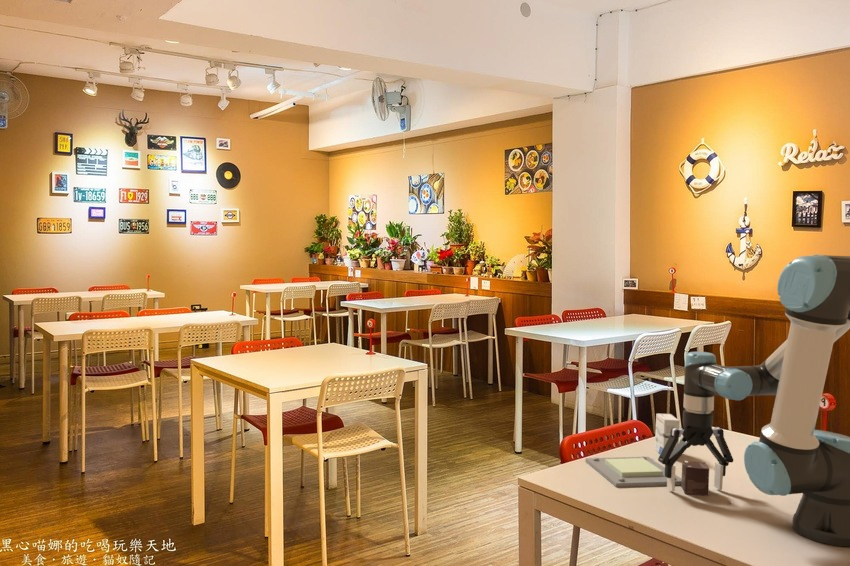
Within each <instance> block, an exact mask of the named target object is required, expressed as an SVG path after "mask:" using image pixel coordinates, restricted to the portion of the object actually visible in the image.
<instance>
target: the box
mask: <svg viewBox="0 0 850 566" xmlns="http://www.w3.org/2000/svg"><path fill="white" fill-rule="evenodd" d="M681 463H682V464H681V479H682V484H681V485H680V486H681V488H682V490H683V492H684V494H686V495H697V496H709V485H710V483H709V482H710V481H709V479H710V468H709V466H708V465H707V463H706V462H705V461H691V460H682V462H681Z"/></svg>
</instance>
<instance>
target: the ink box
mask: <svg viewBox="0 0 850 566" xmlns="http://www.w3.org/2000/svg"><path fill="white" fill-rule="evenodd" d="M655 415H656V416H655V418H656V419H655V436H654V450H655V451H656V453H658V454H659V455H660V454H661V452H662V450H663V448H664V446H665V445H666V443H667V441H668V439H669V437H670V433H671V428H673V427H674V428H676V429H680V420H679V419H678V418H676V417H675V416H674V415H673V414H672V413H656V414H655ZM679 439H680V438H679ZM679 439H678V442H677V444H676V446H677V445H678V444H679V441H680V440H679ZM676 446H675V447H676ZM675 447H674V449H675ZM674 449H673V450H674Z"/></svg>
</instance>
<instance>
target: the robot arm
mask: <svg viewBox="0 0 850 566" xmlns="http://www.w3.org/2000/svg"><path fill="white" fill-rule="evenodd" d="M778 277H779V278H778V280H777V286H776V287H777V288H776V289H777V295H778V296H779V298H778V299H779V301H780V303H781V305H782V306H783V307H784V308H785V309H784V310H785V311H784V314H785V316H786V317H787V318H788V320H789V321H790V326H789V330H788V335H787V339H786V340H785V341H784V342H782V343H781V345H780V346H779V347H777V349H776V350H774V352H773V353H771V355H769V356H768V357H767V358H766V359H765V360H764V361H763V362H762V363H761V364H758V365H743V366H742V365H740V366H725V365H721V364H717V357H716V355H715V354H714V353H712V352H707V351H690V352H687V354H686V355H685V363H684V378H683V379H684V380H683V381H684V382H683V383H684V385H683V390H684V391H683V404H682V405H683V410H682V428H679V429H676V428H674V427H673V428H671V433H670V437H669V439H668V441H667V443H666V445H665V446H664V448H663V450H662V452H661V454H659V456H658V459H657V461H658V463H659V462H660V463H661V464H662V465H664V467H665V476H666V477H667V485H666V489H668V490H669V491H671V492H675V486H676V485H675V475H676V469H677V468H676V466H675V465H674V464H675V463H676V462H677V461H678V459H680V458H681V456H682V455H683V454H684V453H685V451H686V450H687V449H689V448H690V447H691V446H693V447H697V446H700V447H702V446H703V447H704V446H706V448H707V449H708V450H709V451H710V453H711V454H712V455H713V457H714V458H715V459H716V460H717V462H714V475H713V476H714V477H713V478H714V479H713V481H714V482H713V486H714V487H715V488H717V489H718V490H723V484H724V483H723V482H724V481H723V480H724V479H723V478H724V477H726V471H727V470H726V469H727V467H728V466H729V463H733V462H734V458H733V456H732V453H731V451H730V448H729V446H728V444H727V441H726V439H725V435H724V432H725V431H724V429H723V428H720V427H719V426H715V427H714V428H713V426H714V425H713V424H714V413H713V411H714V410H715V409H714V408H715V405H714V404H715V395H717V396H720V397H723V398H724V399H727V400H734V401H742V400H744V399H746V398H747V397H753V396H775V399H774V404H773V408H772V414H771V419H770V420H771V421H770V423H767V424H766V425H764V426H763V427H761V431H760V436H759V439H758V441H753V442H752V443H751V444H748V445H747V447H746V448H745V450H744V454H743V462H744V468H745V471H746V473H747V475H748V477H749V480H750V482H751V483H752V485H754V487H755V488H757V490H759V492H762V493H763V494H764V495H765V494H766V495H768V496H781V497H785V496H787V495H796V494H797V495H798V494H801V495H802V496H801V498H800V501H799V503H798V506H797V508H796V510H795V513H794V514H793V515H792V528H793V530H794V531H795V532H796V533H797V534H799V535H801V536H803V537H805V538H807V539H809V540H813V541H815V542H818V543H822V544H825V545H832V546H836V547H837V546H838V547H845V548H846V547H848V548H849V547H850V436H848V435H844V434H841V433H836V432H833V431H828V430H821V429H816V424H817V419H818V415H819V411H820V406H821V401H822V396H823V393H824V387H825V383H826V378H827V375H828V369H829V365H830V361H831V360H830V359H831V355H832V351H833V347H834V346H833V345H834V343H836V341H838V339H840V338H841V337H842V336H843V335H844V334H845V333H847V332H849V330H850V255H827V254H825V255H823V254H813V255H802V256H798V257H796V258H794V259H793V260H792V261H790V262H789V263H787V265H785V266H784V268H783V269H782V271H781V273H780V275H779V276H778ZM681 435H682V436H681ZM712 436H715V437H714V438H715V440H716V443H717V445H718V447H719V449H720V451H719V450H718V448H717V447H716V446H715V443H714V442H713V441H712V439H711V438H712ZM680 438H681V439H680ZM678 439H680V440H679V444H678V445H677V446H676V444H677V442H678ZM675 446H676V447H675ZM674 447H675V449H674ZM673 449H674V450H673Z"/></svg>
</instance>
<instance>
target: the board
mask: <svg viewBox="0 0 850 566" xmlns="http://www.w3.org/2000/svg"><path fill="white" fill-rule="evenodd" d="M584 462H585V463H586V464H588V465H589V466H590V467H591V468H593V470H595V471H596V472H597V473H598V474H600V475H601V476H602V477H604V479H605V480H607V482H609V483H610V484H612V486H613V487H615V488H620V487H621V488H626V487H628V488H629V487H655V486H667V477H666V476H665V466H663V464H662V465H661V464H660V463H659V462H657V461H655V460H654V459H652V458H651V457H650V456H626V457H625V456H624V457H623V456H622V457H621V456H618V457H589V458H588V457H585V461H584ZM681 484H682V477H680V476H679V475H676V474H675V486H681Z"/></svg>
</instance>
